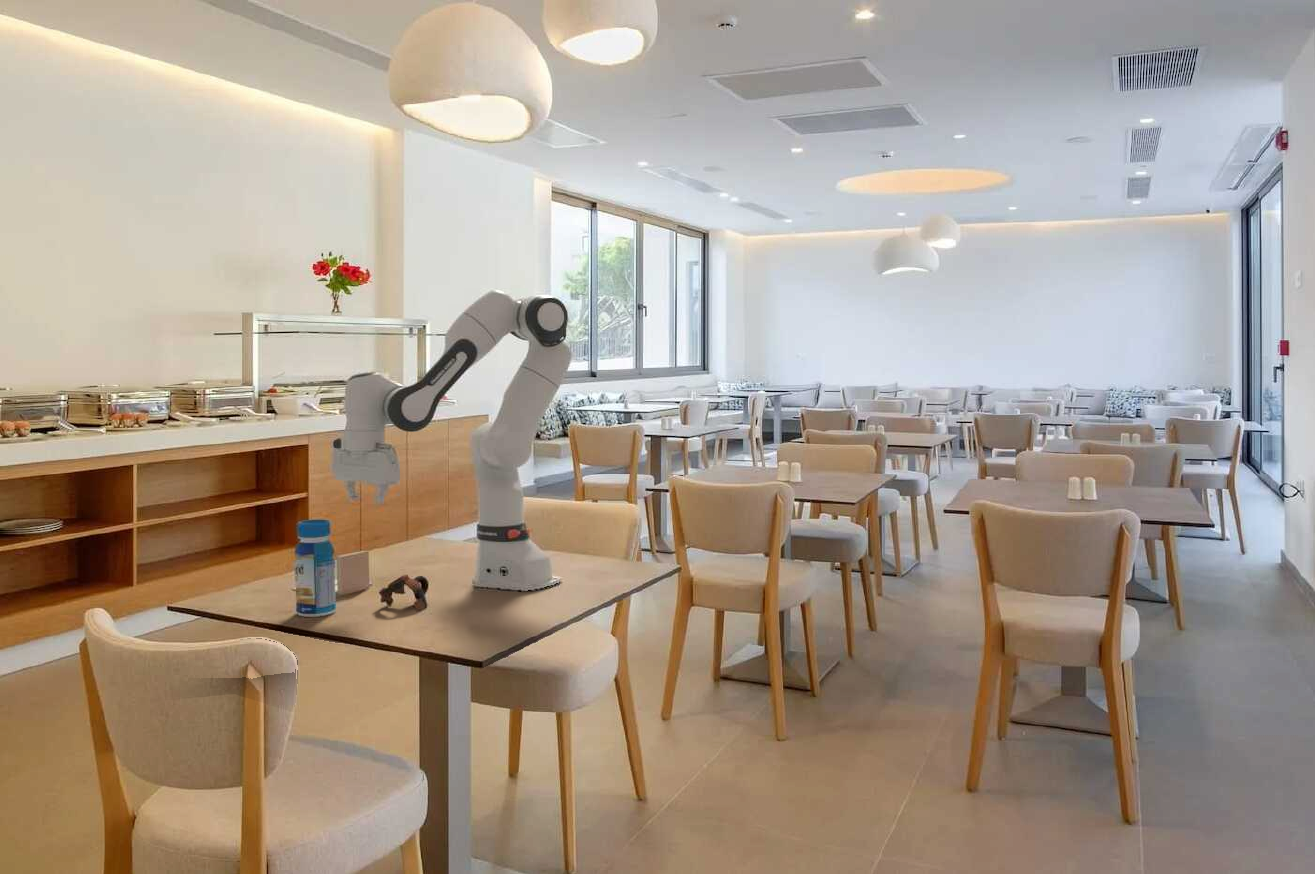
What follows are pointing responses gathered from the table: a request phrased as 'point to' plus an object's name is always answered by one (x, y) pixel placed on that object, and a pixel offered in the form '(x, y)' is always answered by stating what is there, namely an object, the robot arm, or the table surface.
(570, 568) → the table surface
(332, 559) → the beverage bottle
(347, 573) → the glazed tile
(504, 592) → the table surface
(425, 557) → the table surface
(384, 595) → the brown ring-shaped piece
